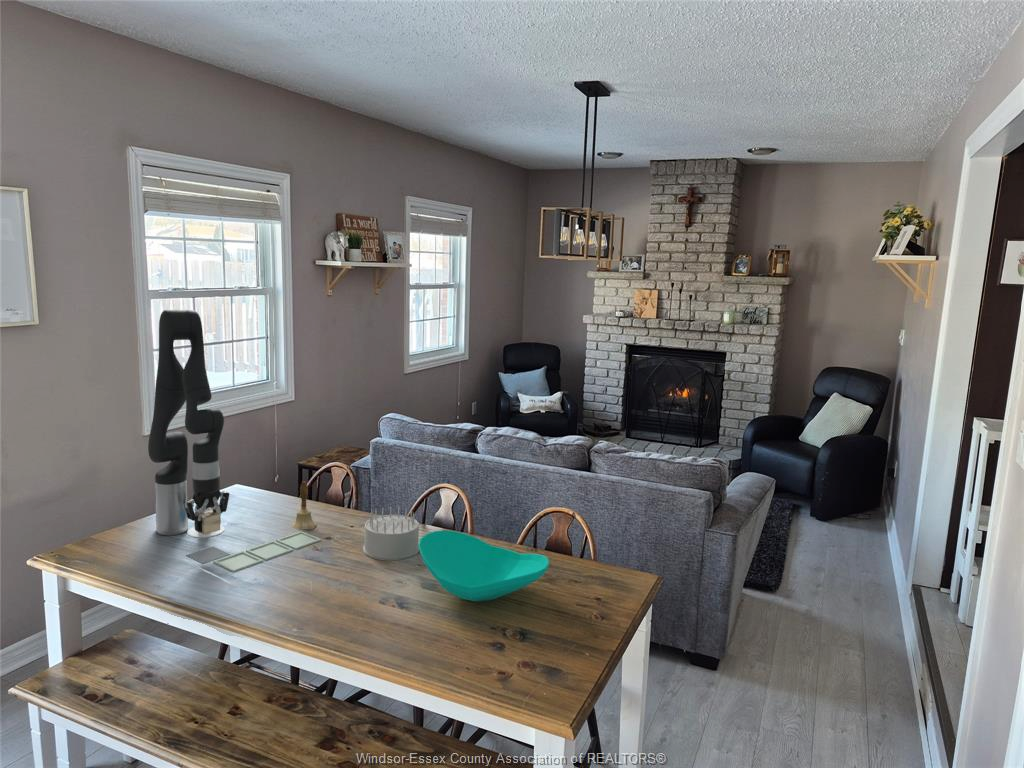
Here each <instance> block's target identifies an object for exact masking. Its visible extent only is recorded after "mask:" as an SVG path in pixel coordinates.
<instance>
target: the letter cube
mask: <svg viewBox="0 0 1024 768" xmlns="http://www.w3.org/2000/svg"><path fill="white" fill-rule="evenodd" d="M220 517H221V515H220V514H218V513H215V512H213V511H207V512H205V513H204V514H203V516H202V519H201V520H202V532H200V533H202V534H205V535H206V534H209V533H212V532H216V531H219V530H220V525H221V523H220Z"/></svg>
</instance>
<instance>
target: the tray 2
mask: <svg viewBox="0 0 1024 768" xmlns="http://www.w3.org/2000/svg"><path fill="white" fill-rule="evenodd" d="M293 551H294V549H293V548H291V547H288V546H286V545H283V544H281V543H279V542H276V540H272V541H268V542H266V543H263V544H260V545H257V546H253V547H251V548H248V549H245V552H247V553H249V554H251V555H253V556H256V557H258V558H260V559H262V560H263V561H268V560H272V559H274V558H277V557H279V556H284V555H286V554H288V553H291V552H293Z"/></svg>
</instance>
